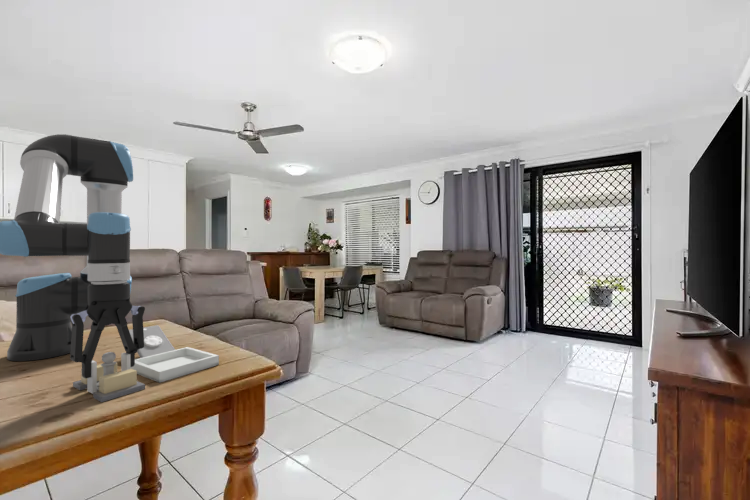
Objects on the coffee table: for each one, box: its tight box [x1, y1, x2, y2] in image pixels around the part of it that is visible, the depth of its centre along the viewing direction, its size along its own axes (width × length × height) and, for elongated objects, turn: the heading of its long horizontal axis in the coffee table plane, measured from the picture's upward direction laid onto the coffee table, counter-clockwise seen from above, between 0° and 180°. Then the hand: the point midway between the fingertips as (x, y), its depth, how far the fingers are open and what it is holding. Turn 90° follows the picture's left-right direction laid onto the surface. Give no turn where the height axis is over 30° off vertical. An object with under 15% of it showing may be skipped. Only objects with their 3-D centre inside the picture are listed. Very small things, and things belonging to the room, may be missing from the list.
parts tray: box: [131, 346, 220, 384], centre depth 90 cm, size 15×15×2 cm
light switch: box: [129, 324, 176, 358], centre depth 99 cm, size 8×6×14 cm
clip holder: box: [72, 362, 146, 403], centre depth 77 cm, size 15×8×4 cm, turn 58°
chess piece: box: [97, 351, 118, 392], centre depth 77 cm, size 5×5×8 cm
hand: (109, 386), depth 77 cm, fingers open, 6 cm apart
